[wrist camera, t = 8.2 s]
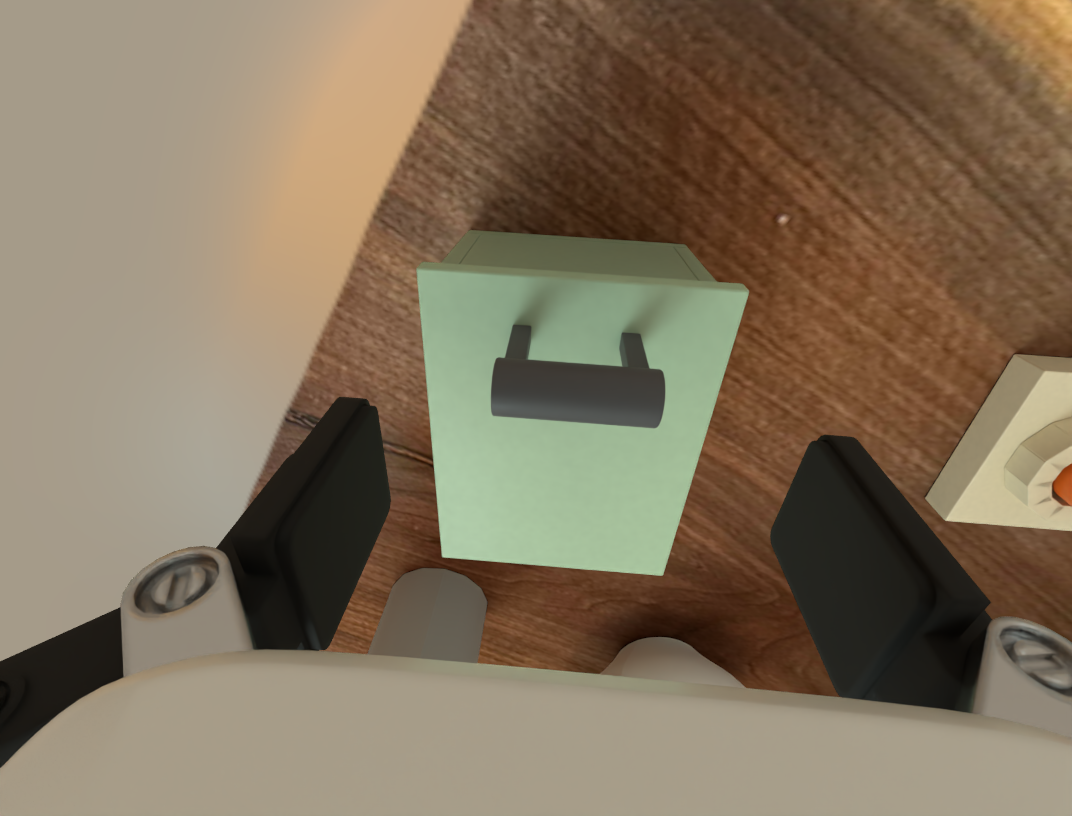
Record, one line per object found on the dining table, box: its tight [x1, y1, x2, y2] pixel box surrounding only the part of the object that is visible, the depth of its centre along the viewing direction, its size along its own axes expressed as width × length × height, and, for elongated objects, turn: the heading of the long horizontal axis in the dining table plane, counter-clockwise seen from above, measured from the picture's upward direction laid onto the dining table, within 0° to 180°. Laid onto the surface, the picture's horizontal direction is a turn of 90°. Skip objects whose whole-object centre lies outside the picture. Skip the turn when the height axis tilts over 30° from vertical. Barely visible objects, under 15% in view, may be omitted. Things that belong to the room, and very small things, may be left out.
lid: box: [416, 262, 749, 576], centre depth 20 cm, size 15×12×6 cm
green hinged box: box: [441, 230, 717, 282], centre depth 26 cm, size 15×12×9 cm
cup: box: [368, 568, 488, 663], centre depth 38 cm, size 8×8×10 cm
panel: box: [925, 354, 1072, 531], centre depth 29 cm, size 11×9×4 cm
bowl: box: [600, 637, 745, 688], centre depth 42 cm, size 16×16×7 cm
